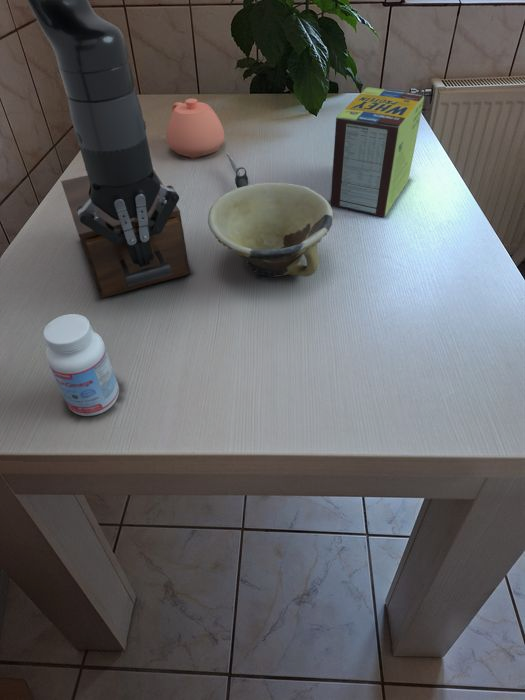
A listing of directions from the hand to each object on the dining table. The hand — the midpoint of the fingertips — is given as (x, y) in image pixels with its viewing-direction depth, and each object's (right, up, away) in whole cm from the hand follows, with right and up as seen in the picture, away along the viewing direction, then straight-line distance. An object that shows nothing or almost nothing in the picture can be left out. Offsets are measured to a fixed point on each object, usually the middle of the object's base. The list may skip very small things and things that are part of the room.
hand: (143, 262), depth 68 cm
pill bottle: (-4, -18, -8) cm, 20 cm away
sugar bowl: (+2, +32, +41) cm, 52 cm away
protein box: (+36, +17, +25) cm, 47 cm away
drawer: (-3, +1, +8) cm, 9 cm away
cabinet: (-4, +3, +12) cm, 13 cm away
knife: (+12, +19, +28) cm, 36 cm away
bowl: (+18, +1, +9) cm, 20 cm away
